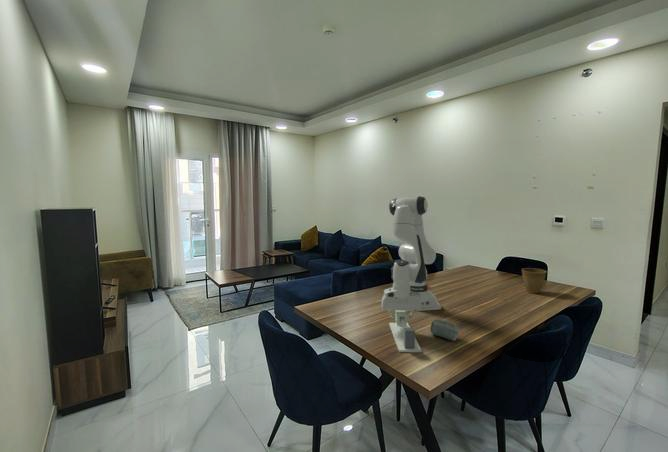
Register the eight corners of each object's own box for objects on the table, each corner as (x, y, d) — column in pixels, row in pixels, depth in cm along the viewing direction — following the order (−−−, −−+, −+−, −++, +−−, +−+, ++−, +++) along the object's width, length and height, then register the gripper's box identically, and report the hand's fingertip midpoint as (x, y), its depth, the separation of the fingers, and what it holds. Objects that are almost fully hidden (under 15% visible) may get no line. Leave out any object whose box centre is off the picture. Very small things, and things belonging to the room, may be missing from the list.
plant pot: (544, 291, 228) (546, 269, 226) (545, 296, 215) (546, 273, 213) (520, 287, 235) (522, 266, 234) (520, 293, 223) (521, 271, 221)
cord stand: (407, 324, 171) (407, 307, 170) (421, 352, 141) (421, 331, 140) (389, 324, 171) (389, 307, 170) (399, 352, 142) (399, 331, 141)
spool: (424, 329, 157) (433, 312, 157) (432, 332, 164) (441, 315, 164) (447, 345, 147) (457, 327, 147) (455, 348, 153) (465, 330, 154)
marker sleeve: (404, 320, 166) (404, 310, 166) (406, 324, 161) (406, 313, 161) (395, 320, 166) (395, 310, 166) (396, 324, 161) (397, 313, 161)
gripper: (420, 290, 165) (419, 315, 167) (381, 290, 166) (380, 315, 167) (423, 293, 159) (422, 320, 160) (382, 293, 159) (382, 320, 161)
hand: (400, 317), depth 164 cm, fingers open, 8 cm apart
